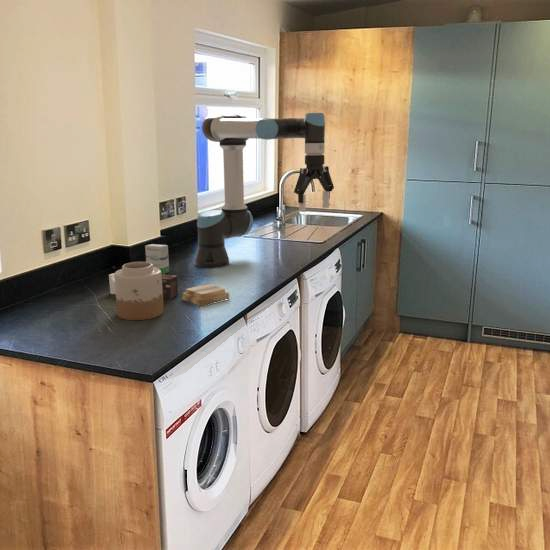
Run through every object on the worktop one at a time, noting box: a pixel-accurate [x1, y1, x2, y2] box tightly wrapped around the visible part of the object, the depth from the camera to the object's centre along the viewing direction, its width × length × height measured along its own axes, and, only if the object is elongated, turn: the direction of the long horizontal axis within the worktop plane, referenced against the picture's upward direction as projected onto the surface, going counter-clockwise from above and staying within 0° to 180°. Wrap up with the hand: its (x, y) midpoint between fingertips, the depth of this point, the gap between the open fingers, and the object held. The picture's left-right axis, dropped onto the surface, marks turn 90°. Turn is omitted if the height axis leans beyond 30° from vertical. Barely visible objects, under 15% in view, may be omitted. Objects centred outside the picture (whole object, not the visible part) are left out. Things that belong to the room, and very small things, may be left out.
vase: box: [114, 261, 164, 321], centre depth 202 cm, size 15×15×17 cm
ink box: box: [144, 243, 170, 275], centre depth 256 cm, size 9×5×12 cm, turn 65°
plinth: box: [181, 283, 230, 307], centre depth 218 cm, size 12×12×4 cm
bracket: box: [108, 272, 116, 295], centre depth 231 cm, size 13×7×8 cm, turn 157°
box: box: [162, 274, 179, 299], centre depth 223 cm, size 6×6×7 cm
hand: (314, 209), depth 238 cm, fingers open, 13 cm apart
